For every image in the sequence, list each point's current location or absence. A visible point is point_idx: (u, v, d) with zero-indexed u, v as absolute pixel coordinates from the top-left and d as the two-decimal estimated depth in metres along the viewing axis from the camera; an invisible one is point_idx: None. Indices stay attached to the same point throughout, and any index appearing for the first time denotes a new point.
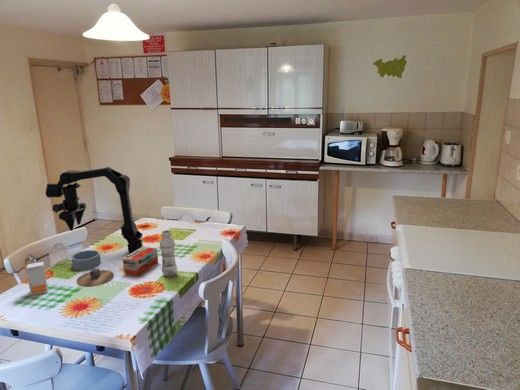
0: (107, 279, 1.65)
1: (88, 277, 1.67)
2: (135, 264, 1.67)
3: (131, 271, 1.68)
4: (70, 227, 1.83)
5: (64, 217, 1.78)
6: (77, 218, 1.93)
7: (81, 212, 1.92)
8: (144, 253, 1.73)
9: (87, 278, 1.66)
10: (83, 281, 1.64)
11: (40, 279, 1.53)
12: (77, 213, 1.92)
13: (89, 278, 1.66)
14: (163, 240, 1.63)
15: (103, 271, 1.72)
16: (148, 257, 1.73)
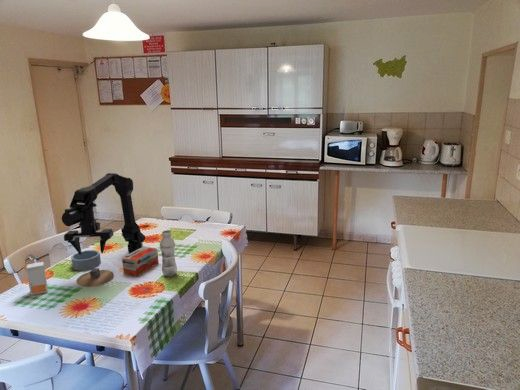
0: (107, 279, 1.65)
1: (88, 277, 1.67)
2: (134, 264, 1.67)
3: (130, 271, 1.69)
4: None
5: None
6: None
7: None
8: (144, 253, 1.73)
9: (87, 278, 1.66)
10: (83, 281, 1.63)
11: (40, 279, 1.53)
12: None
13: (89, 278, 1.66)
14: (163, 240, 1.63)
15: (103, 271, 1.72)
16: (147, 257, 1.73)
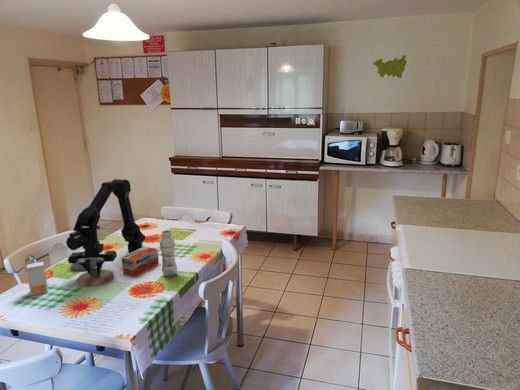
0: (107, 278, 1.65)
1: (88, 276, 1.67)
2: (132, 264, 1.67)
3: (129, 271, 1.69)
4: None
5: None
6: None
7: None
8: (143, 253, 1.73)
9: (87, 277, 1.66)
10: (83, 280, 1.63)
11: (40, 279, 1.53)
12: None
13: (89, 277, 1.66)
14: (163, 240, 1.63)
15: (103, 270, 1.72)
16: (147, 258, 1.73)
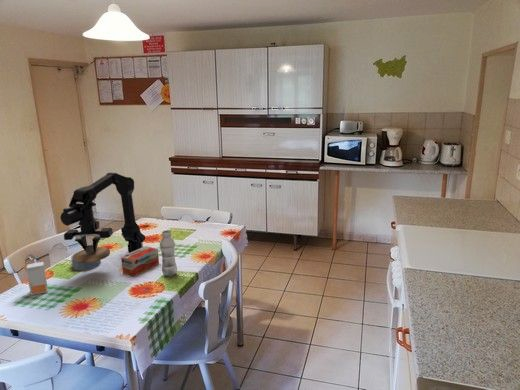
0: (103, 255, 1.65)
1: (84, 253, 1.67)
2: (131, 263, 1.67)
3: (128, 270, 1.69)
4: None
5: None
6: None
7: None
8: (143, 253, 1.73)
9: (83, 254, 1.66)
10: (79, 257, 1.64)
11: (40, 279, 1.53)
12: None
13: (85, 254, 1.66)
14: (163, 240, 1.63)
15: (99, 248, 1.72)
16: (146, 258, 1.73)
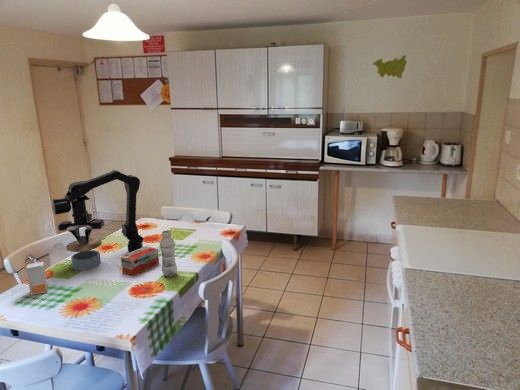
0: (95, 245, 1.76)
1: (77, 244, 1.78)
2: (131, 263, 1.67)
3: (128, 270, 1.70)
4: None
5: None
6: None
7: None
8: (143, 253, 1.73)
9: (76, 244, 1.77)
10: (72, 246, 1.75)
11: (40, 279, 1.53)
12: None
13: (78, 244, 1.77)
14: (163, 240, 1.63)
15: (91, 239, 1.84)
16: (146, 258, 1.73)
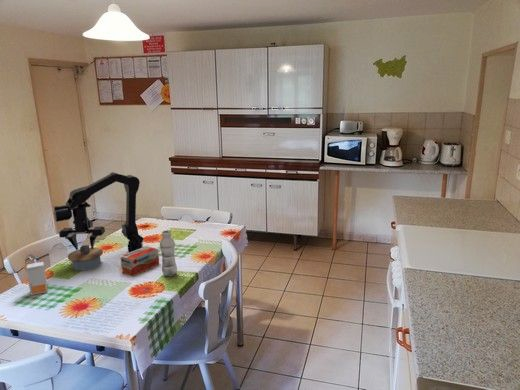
0: (96, 255, 1.77)
1: (78, 253, 1.79)
2: (130, 263, 1.68)
3: (127, 270, 1.70)
4: None
5: None
6: None
7: None
8: (142, 253, 1.73)
9: (77, 254, 1.78)
10: (74, 256, 1.76)
11: (40, 279, 1.53)
12: None
13: (79, 254, 1.78)
14: (163, 240, 1.63)
15: (93, 248, 1.85)
16: (146, 258, 1.73)
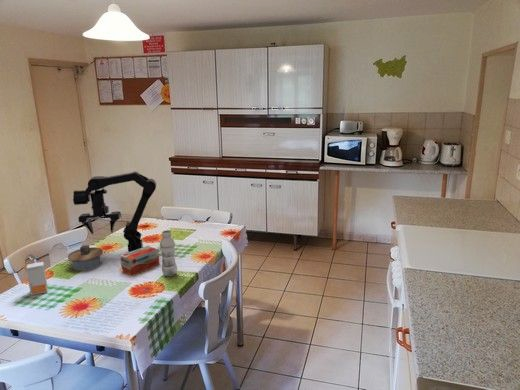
0: (96, 255, 1.77)
1: (78, 253, 1.79)
2: (129, 263, 1.68)
3: (126, 269, 1.70)
4: None
5: None
6: None
7: None
8: (142, 253, 1.73)
9: (77, 254, 1.78)
10: (74, 256, 1.76)
11: (40, 279, 1.53)
12: None
13: (79, 254, 1.78)
14: (163, 240, 1.63)
15: (93, 248, 1.85)
16: (145, 258, 1.73)
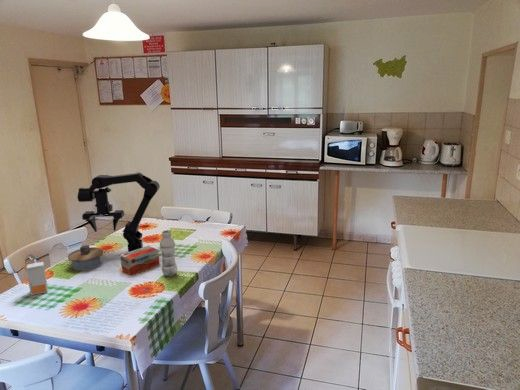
0: (96, 255, 1.77)
1: (78, 253, 1.79)
2: (128, 263, 1.68)
3: (126, 269, 1.71)
4: None
5: None
6: None
7: None
8: (142, 253, 1.73)
9: (77, 254, 1.78)
10: (74, 256, 1.76)
11: (40, 279, 1.53)
12: None
13: (79, 254, 1.78)
14: (163, 240, 1.63)
15: (93, 248, 1.85)
16: (145, 258, 1.73)
